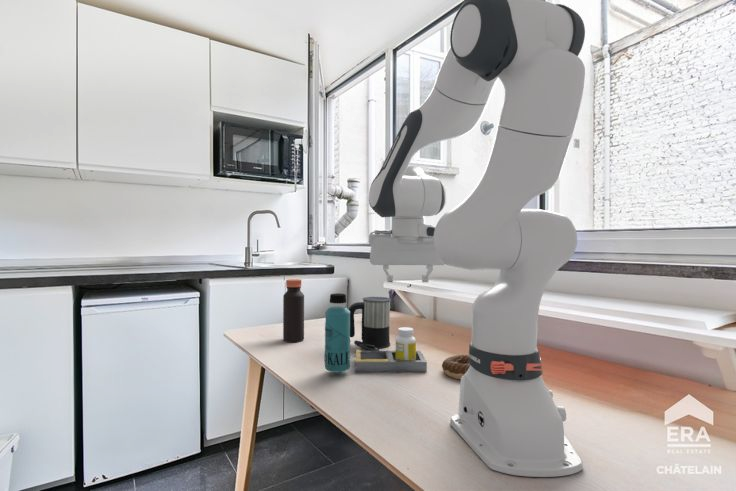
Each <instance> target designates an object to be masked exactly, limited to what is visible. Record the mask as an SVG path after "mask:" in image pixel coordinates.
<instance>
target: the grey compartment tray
mask: <svg viewBox="0 0 736 491" xmlns="http://www.w3.org/2000/svg"><path fill="white" fill-rule="evenodd" d="M427 364H428V362H427V360H426V358H425V356H424V354H423V352H422V350H416V360H396V350H379V351H365V350H362V349H356V350H355V373H427Z"/></svg>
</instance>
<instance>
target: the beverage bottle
mask: <svg viewBox="0 0 736 491" xmlns="http://www.w3.org/2000/svg"><path fill="white" fill-rule="evenodd" d="M329 303H330V304H346V303H347V295H346V294H345V293H338V292H337V293H331V294H330V295H329ZM348 309H349V308H348V307H346V306H340V305H337V306H336V305H335V306H334V305H333V306H329V308H327V309H326V310H325V312H324V313H325V323H324V325H325V326H324V352H323V353H324V355H323V356H324V364H323V365H324V368H325V370H326V371H328V372H330V373H331V372H333V373H339V372H340V373H342V372H346V371H348V370H349V369H350V366H351V337H350V311H349V310H348Z"/></svg>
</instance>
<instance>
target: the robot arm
mask: <svg viewBox="0 0 736 491" xmlns="http://www.w3.org/2000/svg"><path fill="white" fill-rule="evenodd" d="M582 18H583V17H581V16H580V14H579V13H578V12H577V11H575V10H574V9H572V8H571V7H569V6H566V5H565V4H561V3H556V4H555V3H553V2H549V1H547V0H464V2H463V3H462V4H461V5H460V7H459V8H458V11H457V12H456V14H455V16H454V19H453V21H452V24H451V30H450V36H449V37H450V38H449V40H450V42H449V43H450V46H449V48H448V50H447V51H446V54H445V56H444V59H443V60H442V64H441V65H440V67H439V70H438V72H437V75H436V78H435V82H434V84H433V87H432V89H431V92H430V93H429V94H428V96H427V98H426V99H425V100H424V102H423V103H421V105H420V106H419V107H418V108H417V109H416V108H415V109H414V110H412V111H411V112H409V114H407V116H406V118H405V120H404V121H403V123H402V125H401V127H400V129H399V130H398V132H397V135H396V137H395V138H394V140H393V143H392V145H391V147H390V149H389V152H388V154H387V155H386V158H385V160H384V162H383V164H382V165H381V166H382V167H381V168H380V170H379V172H378V174H376V176H375V178H373V180H372V182H371V184H370V188H369V192H368V202H369V203H368V204H369V206H370V208H371V210H372V211H374V213H376V214H377V215H379V217H381V218H391V229H383V230H382V229H381V230H380V229H374V231H372V232H370V233H369V235H368V244H369V246H370V254H369V262H370V264H371V265H373V266H382V269H383V271H384V273H385V275H386V283H393V282H394V280H393V278H394V276H393V274H390V273H389V272H388V270H389V268H390V267H389V266H426V269H427V271H426V272H425V274H424V275H423V274H422V275H421V278H422V279H421V282H422V283H429V280H430V279H429V277H430V275H431V274H432V271H433V270H434V266H450V267H453V268H454V267H455V268H458V269H464V270H470V271H477V270H478V271H482V270H483V271H485V270H486V271H487V270H488V271H491V270H492V271H494V270H497V271H498V270H500V271H499V275H498V278H497V280H496V281H495V282H494V284H493V285H492V287H490V288H489V289H487V290H486V291H484V292H481V293H480V294H479V295H478V296H477V297H476V298H475V300H474V302H473V304H472V306H471V342H470V343H469V348H468V354H467V355H469V364H470V367H469V369H468V371H467V372H466V373H465V374H464V375H463V376H462V377H461V380H460V387H459V399H458V400H459V402H458V405H459V406H458V413H455V414H453V415H452V416H450V420H449V422H450V423H449V424H450V426H452V428H453V429H454V430H455V431H456V432H457V433H458V434H459V436H460V437H462V439H463V440H464V441H465V442H466V443H467V445H468V446H469V447H470V448H471V449H472V451H473V452H474V453H475V454H477V456H478V457H479V458H480V460H482V461H483V463H484V464H485V465H486V466H487V467H488V468H489V469H491V470H492V471H496V472H499V473H503V474H507V475H512V476H521V477H531V478H532V477H534V478H535V477H536V478H548V477H552V478H553V477H554V478H555V477H563V476H570V475H574V474H577V473H579V472H581V471H582V470H583V469H584V466H583V465H584V464H583V460H582V459H581V457H580V456H579V454H578V453H577V452H576V449H575V448H574V447H573V445H572V444H571V442H570V441H569V439H568V438H567V436H566V435H565V430H564V428H565V427H564V422H566V421H567V412H566V408H565V407H564V406H561V405H556V403H555V401H554V399H553V391H552V390H551V389H550V390H549V389H548V387H547V385H546V382H545V381H544V379H543V373H544V372H543V367H542V366H543V362H542V358H541V356H540V350H539V348H538V347H537V346H538V344H537V343H538V323H539V322H538V321H539V312H540V311H539V310H540V305H541V301H542V297H543V295H544V292H545V290H546V288H547V286H548V285H549V282H550V281H551V279H552V278H553V277H554V275H555V274H556V273H557V271H558V270H559V269H560V268H562V267H563V266H564V265H566V263H568V262H569V261H570V260H571V259H572V257H573V256H574V254H575V252H576V250H577V246H578V232H577V229H576V227H575V225H574V224H573V222H572V220H571V219H570V218H569V217H568V216H567V215H564V214H562V213H561V214H560V213H558V212H553V211H551V210H550V211H549V210H544V209H540V208H524V207H525V206H526V205H527V204H528V203H530V202H531V201H532V200H534V199H535V198H536V197H538V196H540V195H543V194H544V193H547V192H548V191H549V190H551V189H552V188H553V187H554V186H555V185H556V183H557V182H558V181H559V179H560V176H561V172H562V169H563V167H564V164H565V160H566V157H567V154H568V151H569V147H570V144H571V142H572V139H573V137H574V136H573V135H574V132H575V130H576V125H577V123H578V118H579V114H580V110H581V105H582V102H583V101H582V99H583V94H584V89H585V88H584V87H585V81H586V80H585V77H586V68H585V64H584V62H583V61H582V59H581V58H580V57H579V55H580V53H581V51H582V49H583V46H584V43H585V36H586V29H585V24H584V20H583V19H582ZM499 80H500V82H501V83H502V85H503V88H504V89H503V90H504V100H503V104H502V108H501V112H500V116H499V119H498V124H497V128H496V132H495V136H494V140H493V144H492V149H491V151H490V155H489V158H488V162H487V164H486V167H485V171H483V175H481V178H480V180H479V181H478V183H477V185H476V186H475V187H474V188H473V190H472V191H471V192H470V194H468V196H467V197H466V198H465V199H464V200H463V201H461V202H460V203H459V204H457V205H456V206H455V207H453V208H452V209H450V210H448V211H447V212H445V213H444V214H443V215H442V216H441V217H440V218H439V220H438V221H437V223H436V225H435V226H433V225H430V224H426V218H425V217H432V216H437V215H438V214H439V213H440V212H442V210H444V207H445V206H446V204H447V189H446V187H445V185H444V183H443V182H442V180H440V179H439V178H438V177H433V176H430V175H427V174H425V172H424V169H422V168H421V167H418V166H413V165H410V163H411V162H412V160H413V158H414V156H415V155H416V154H417V153H418V152H420V150H422V149H424V148H426V147H428V146H430V145H434V144H436V143H440V142H443V141H448V140H453V139H456V138H458V137H459V138H460V137H463V136H464V135H467V133H469V132H471V131H473V129H474V128H475V127H476V126H477V125H478V123H479V122H480V121H481V119H482V118H483V116H484V113H485V112H486V111H485V110H486V109H487V107H488V104H489V101H490V99H491V96H493V92H494V89H495V87H496V85H497V83H498V81H499Z"/></svg>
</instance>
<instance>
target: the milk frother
mask: <svg viewBox="0 0 736 491" xmlns="http://www.w3.org/2000/svg"><path fill="white" fill-rule="evenodd" d="M362 300H363V301H362V302H354V303H352V304H351V305H350V306H349V308H347V309H348V310H349V311H350V338H354V337H355V331H356V330H355V313H356V311H357V310H361V340H362V341H361V340H357V339H356V340H354V341H353V344H354V345H355V346H357V347H358V348H360V349H361V350H363V351H380V349H382V348H388V347H389V346H391V342H390V340H391V339H390V319H391V318H390V317H391V316H390V315H391V311H390V309H391V302H392V299H391V298H390V297H384V296H366V297H363V298H362Z"/></svg>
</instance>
